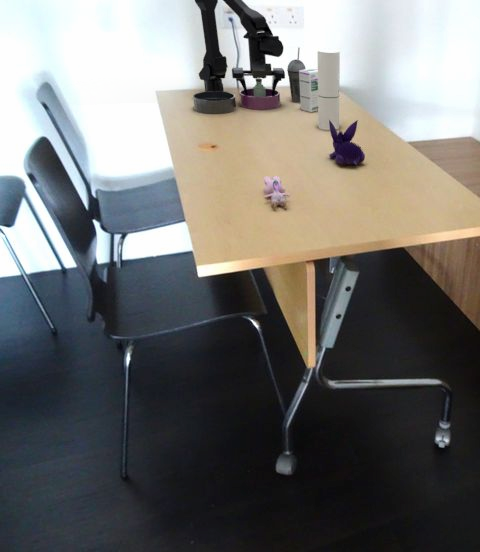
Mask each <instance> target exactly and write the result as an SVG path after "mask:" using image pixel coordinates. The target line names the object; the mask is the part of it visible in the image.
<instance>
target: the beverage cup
mask: <svg viewBox="0 0 480 552" xmlns="http://www.w3.org/2000/svg"><path fill="white" fill-rule="evenodd" d="M297 47H298V48H297V58H296V59H292V60H291V61H290V62H288V65H287V70H286V72H287V76H288V81H289V82H288V83H289V89H290V97H291V102H292V103H297V104H299V103H300V81H299V70H304V69H307V68H306V65H305V64H304V62H303V61H302V60H300V49H301V48H300V47H299V46H297Z"/></svg>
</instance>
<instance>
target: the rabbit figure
mask: <svg viewBox="0 0 480 552" xmlns="http://www.w3.org/2000/svg"><path fill="white" fill-rule="evenodd" d="M263 183H264V184H265V188H264V193H265V195H264V197H263V198H264V199H267V198H270V203H271V206H272V207H273V210H275V209H277V207H278V206H281V207H282V208H283V209H284V208H285V210H286V209H287V208H288V206H287V200H286V197H288V198H289V197H290V196H291V194H289V193H286V188H285V187H284V186H283V185H282V179H281V177H280V176H279V175H273V176H272V178H271V177H270V176H264V178H263Z"/></svg>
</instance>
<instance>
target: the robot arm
mask: <svg viewBox="0 0 480 552" xmlns="http://www.w3.org/2000/svg"><path fill="white" fill-rule="evenodd" d="M222 1H223V2H224V3H225V5H227V6H228V7H229V9H230V10H232V12H234V13H235V15H237V17H238V18H239V22H240V24H241V26H242V27H243V29H244V30H245V31H246V33H245V34H244V35H243V36H242V37H243V39H247V43H248V44H247V47H248V57H249V58H248V59H249V60H248V61H249V69H248V70H247V69H244V68H243V67H232V69H231V76H232V79H235V80H236V81H237V82H240V84H241V86H242V88H243V89H242V90H244V91H245V94H246V96H248V92H247V89H248V88H247V83H246V78H245V76H246V77H247V76H248V77H249V76H251V77H252V78H253V79H257V78H260V79H262V80H264V79H267V77H271V78H272V79H271V89H272V96H274V92H275V90H276V89H277V88H276V87H277V85H278V83H279V82H281V81H282V80H284V79H286V71H285V70H284V68H283V67H272V63H267V62H266V61H267V58H266V56H269V57H270V56H271V57H275V58H279V57H282V55H283V53H284V44H283V42H282V40H280V37H279V35H274V34H273V32H272V29H271V28H270V26H269V24H268V22H267V19H266V18H265V17H266V16H264V15H263V14H261V13H260V12H259V11H257V10H255V9H253V8H251V7H250V6H248V5H247V4H246V2H244V1H243V0H222ZM194 2H195V4H196V6H197V7H198V9H199V11H200V17H201V23H202V30H203V38H204V44H205V45H204V46H205V54H204V55H203V58H202V68H201V70H200V71H199V72H198V77H199V79H200V80H201V81H203V83H204V92H205V91H223V92H225V91H224V83H223V79H226V75H227V71H228V68H229V67H228V63H227V61H228V59H227V57H226V55H223V54H222V52H221V49H220V42H219V34H218V33H219V32H218V26H217V18H216V8H217V5H218V2H219V0H194Z"/></svg>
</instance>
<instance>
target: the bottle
mask: <svg viewBox="0 0 480 552" xmlns="http://www.w3.org/2000/svg"><path fill="white" fill-rule="evenodd" d="M262 82H263V78H255V84H254V86H253V87H252V88H253V92H254V97H266V90H265V88H266V87H265V86H264V84H263V83H262Z"/></svg>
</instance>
